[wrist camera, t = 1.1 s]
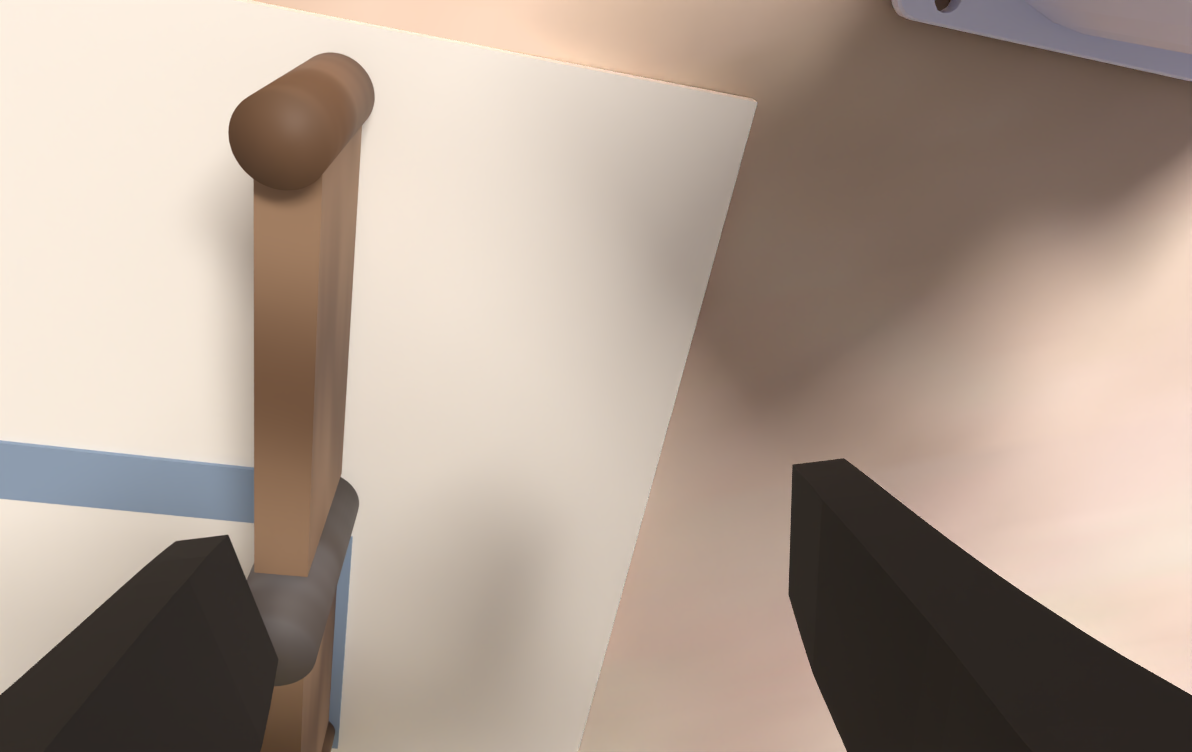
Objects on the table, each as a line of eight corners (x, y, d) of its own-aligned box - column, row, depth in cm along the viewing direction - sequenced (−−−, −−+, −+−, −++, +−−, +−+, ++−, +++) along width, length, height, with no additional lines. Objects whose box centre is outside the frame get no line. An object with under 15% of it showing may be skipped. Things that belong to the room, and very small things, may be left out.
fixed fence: (283, 467, 19) (218, 615, 15) (361, 475, 20) (317, 623, 15) (278, 742, 24) (227, 915, 20) (341, 745, 24) (304, 916, 20)
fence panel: (350, 474, 19) (312, 596, 16) (288, 467, 19) (235, 589, 15) (376, 60, 15) (333, 100, 11) (297, 45, 15) (227, 82, 11)
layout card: (752, 98, 16) (759, 103, 16) (564, 787, 27) (565, 802, 26) (-409, -129, 13) (-440, -131, 13) (-122, 754, 23) (-134, 769, 23)
